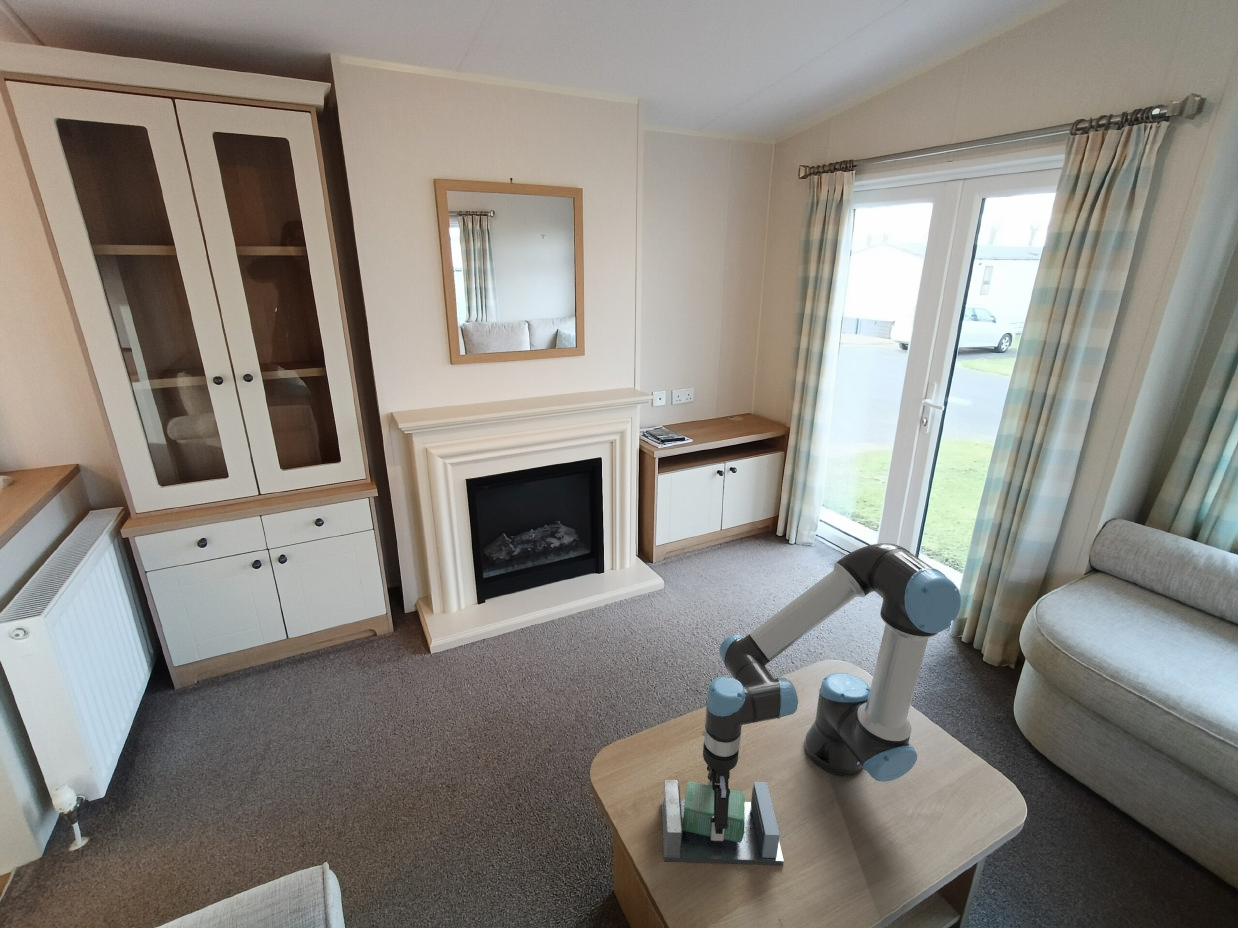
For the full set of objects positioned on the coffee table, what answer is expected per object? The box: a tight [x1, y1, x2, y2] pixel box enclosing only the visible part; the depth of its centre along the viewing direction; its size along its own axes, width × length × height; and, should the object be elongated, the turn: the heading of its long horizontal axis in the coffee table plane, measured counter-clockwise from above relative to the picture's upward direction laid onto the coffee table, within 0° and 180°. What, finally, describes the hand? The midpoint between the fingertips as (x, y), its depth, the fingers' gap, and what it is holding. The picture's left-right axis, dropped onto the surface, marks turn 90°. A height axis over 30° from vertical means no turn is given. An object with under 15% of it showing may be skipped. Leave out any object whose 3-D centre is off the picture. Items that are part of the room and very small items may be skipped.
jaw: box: [750, 781, 781, 858], centre depth 129 cm, size 3×13×7 cm, turn 178°
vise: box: [660, 779, 785, 867], centre depth 129 cm, size 26×14×8 cm, turn 88°
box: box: [683, 781, 746, 843], centre depth 128 cm, size 7×14×8 cm, turn 78°
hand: (714, 820), depth 129 cm, fingers closed on box, 8 cm apart
